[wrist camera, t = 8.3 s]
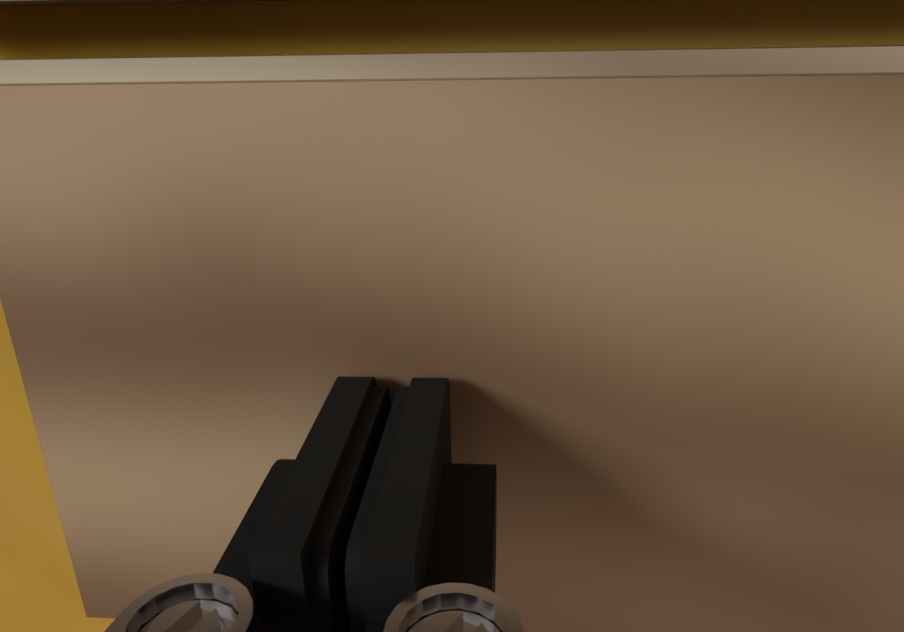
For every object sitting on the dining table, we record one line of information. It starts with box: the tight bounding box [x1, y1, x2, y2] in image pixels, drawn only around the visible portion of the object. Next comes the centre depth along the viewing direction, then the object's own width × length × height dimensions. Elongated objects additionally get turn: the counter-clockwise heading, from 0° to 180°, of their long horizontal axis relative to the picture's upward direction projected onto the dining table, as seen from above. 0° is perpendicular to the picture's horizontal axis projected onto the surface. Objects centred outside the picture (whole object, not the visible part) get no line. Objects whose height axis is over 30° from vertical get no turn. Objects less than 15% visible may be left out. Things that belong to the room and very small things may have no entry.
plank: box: [0, 45, 904, 632], centre depth 10 cm, size 9×22×1 cm, turn 91°
